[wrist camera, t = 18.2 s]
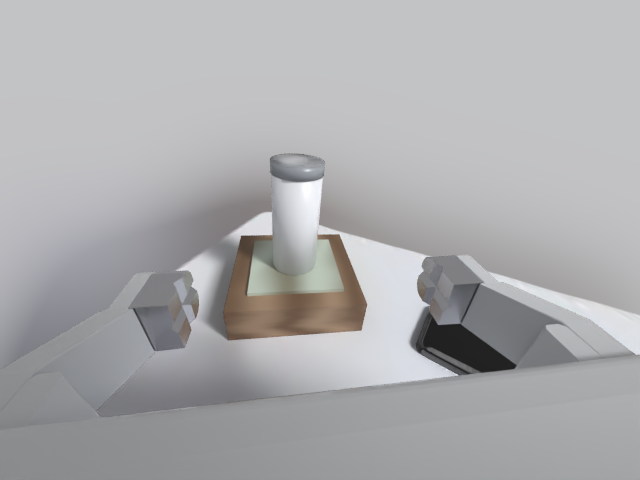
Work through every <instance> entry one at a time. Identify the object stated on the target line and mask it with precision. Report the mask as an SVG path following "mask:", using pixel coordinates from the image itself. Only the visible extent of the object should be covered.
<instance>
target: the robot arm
mask: <svg viewBox="0 0 640 480" xmlns="http://www.w3.org/2000/svg"><path fill="white" fill-rule="evenodd" d="M422 268H423V270H424V271H423V272H422V273H421V274H420V275H419V277H418V281H417V289H418V293H419V296H420V297H421V299H422V301H424V302H425V303H427V304H429V305H430V306H429V311H430V313H431V315H432V316H433V318H434V319H435V321H436V322H437V324H438V325H445V324H461V323H462V324H461V325H462V326H464V327H465V328H467V329H468V330H469V331H471V332H472V333H473V334H475V335H476V336H477V337H479V338H480V339H482V340H483V341H484V342H486V343H487V344H488V345H490V346H491V347H492V348H494V349H495V350H497V351H498V352H499V353H501V354H502V355H503V356H505V357H506V358H507V359H509V360H510V361H512V362H513V363H514V364H516V365H517V366H516V367H515V369H511V370H503V371H494V372H486V373H477V374H469V375H460V376H452V377H443V378H435V379H426V380H418V381H409V382H401V383H392V384H384V385H375V386H367V387H358V388H350V389H341V390H333V391H324V392H316V393H307V394H298V395H290V396H281V397H273V398H264V399H255V400H247V401H238V402H230V403H221V404H213V405H204V406H196V407H187V408H178V409H170V410H161V411H153V412H144V413H136V414H127V415H119V416H110V417H100V416H99V415H98V414H97V413H96V411H97V410H98V409H99V408H100V407H101V406H102V405H103V404H104V403H105V402H106V401H107V400H108V399H109V398H110V397H111V396H112V395H113V394H114V393H115V392H116V391H117V390H118V389H119V388H120V387H121V386H122V385H123V384H124V383H125V382H126V381H127V380H128V379H129V378H130V377H131V376H132V375H133V374H134V373H135V372H136V371H137V370H138V369H139V368H140V367H141V366H142V365H143V364H144V363H145V362H146V361H147V360H148V359H149V358H150V357H151V356H152V355H153V354H154V353H155V351H162V350H171V349H179V348H185V346H186V343H187V340H188V338H189V335H190V332H191V327H190V323H191V322H192V321H193V320H195V319H196V316H197V313H198V308H199V298H198V294H197V291H196V290H195V289H194V288H192V287H191V285H192V283H193V278H192V275H191V273H190V272H189V271H166V272H146V273H137V274H135V275H134V276H133V277H132V278H131V280H130V281H129V282H128V284H127V285H126V286H125V287H124V289H123V290H122V291H121V292H120V294H119V295H118V296H117V298H116V299H115V300H114V301H113V303H112V304H111V305H110V307H109V308H108V309H107V310H106V311H99V312H98V313H96V314H94V315H93V316H91V317H89V318H87V319H86V320H84V321H82V322H81V323H79V324H77V325H75V326H74V327H72V328H70V329H69V330H67V331H65V332H63V333H62V334H60V335H58V336H56V337H55V338H53V339H52V340H50V341H48V342H46V343H45V344H43V345H41V346H40V347H38V348H36V349H34V350H33V351H31V352H29V353H27V354H26V355H24V356H22V357H20V358H19V359H17V360H15V361H13V362H12V363H10V364H8V365H7V366H5V367H3V368H2V369H0V480H640V355H635V354H634V353H633V352H631V351H630V350H629V349H628V348H626V347H625V346H624V345H622V344H621V343H620V342H619V341H617V340H616V339H615V338H613V337H612V336H611V335H609V334H608V333H607V332H606V331H604V330H603V329H602V328H600V327H599V326H598V325H596V324H595V323H594V322H593V321H591V320H590V319H587V318H585V317H583V316H580V315H578V314H576V313H573V312H571V311H569V310H567V309H564V308H562V307H560V306H557V305H555V304H553V303H550V302H548V301H546V300H543V299H541V298H539V297H536V296H534V295H532V294H530V293H527V292H525V291H523V290H520V289H518V288H516V287H513V286H511V285H509V284H506V283H504V282H498V281H497V280H496V279H495V278H494V277H493V276H491V275H490V274H489V273H488V272H487V271H486V270H485V269H484V268H483V267H482V266H480V265H479V264H478V263H477V262H476V261H475V260H474V259H473V258H472V257H471V256H469V255H466V254H462V255H452V256H439V257H426V258H425V259H424V260H423V263H422Z"/></svg>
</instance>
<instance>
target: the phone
mask: <svg viewBox="0 0 640 480" xmlns="http://www.w3.org/2000/svg"><path fill="white" fill-rule="evenodd" d="M461 324H462V323H461ZM461 324H445V325H438V324H437V322H436V321H435V319H434V318H433V316H432V315H431V313H430V311H429V314H428V316H427V318H426V321H425V323H424V326H423V328H422V331H421V333H420V336H419V338H418V340H417V343H416V347H417V349H418V351H419V352H420V353H421V354H422V355H423V356H425V357H427V358H428V359H430V360H432V361H434V362H436V363H438V364H440V365H441V366H443V367H445V368H447V369H449V370H451V371H452V372H454V373H456V374H458V375H469V374H477V373H486V372H494V371H503V370H511V369H515V367H516V366H517V365H516V364H514V363H513V362H512V361H510V360H509V359H507V358H506V357H505V356H503V355H502V354H501V353H499V352H498V351H497V350H495V349H494V348H492V347H491V346H490V345H488V344H487V343H486V342H484V341H483V340H482V339H480V338H479V337H477V336H476V335H475V334H473V333H472V332H471V331H469V330H468V329H467V328H465V327H464V326H462V325H461Z"/></svg>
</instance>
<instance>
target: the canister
mask: <svg viewBox="0 0 640 480" xmlns="http://www.w3.org/2000/svg"><path fill="white" fill-rule="evenodd" d="M324 168H325V161H324V160H322V159H321V158H318V157H315V156H310V155H304V154H280V155H275V156H272V157H271V158H270V173H271V176H272V177H271V179H272V230H273V265H274V267H275V268H276V269H277V270H278V271H279V272H281V273H283V274H287V275H302V274H306V273H308V272H310V271H311V270H312V269H313V268H314V266H315V260H316V248H317V237H318V225H319V213H320V202H321V191H322V180H323V176H324Z"/></svg>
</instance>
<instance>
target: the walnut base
mask: <svg viewBox="0 0 640 480" xmlns="http://www.w3.org/2000/svg"><path fill="white" fill-rule="evenodd" d="M366 307H367V303H366V300H365V298H364V295H363V293H362V290H361V288H360V285H359V283H358V280H357V278H356V275H355V273H354V270H353V268H352V265H351V263H350V260H349V258H348V255H347V253H346V250H345V248H344V245H343V243H342V240H341V238H340V235H339V234H338V235H318V237H317V248H316V260H315V266H314V268H313V269H312V270H311V271H310V272H308V273H306V274H302V275H287V274H283V273H281V272H279V271H278V270H277V269H276V268H275V267H274V265H273V235H261V236H241V239H240V244H239V248H238V252H237V256H236V261H235V265H234V269H233V273H232V278H231V282H230V286H229V290H228V295H227V299H226V303H225V307H224V312H223V314H224V319H225V324H226V330H227V335H228V340H238V339H251V338H265V337H279V336H292V335H306V334H319V333H333V332H346V331H360V330H361V329H362V325H363V320H364V316H365V312H366Z"/></svg>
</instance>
